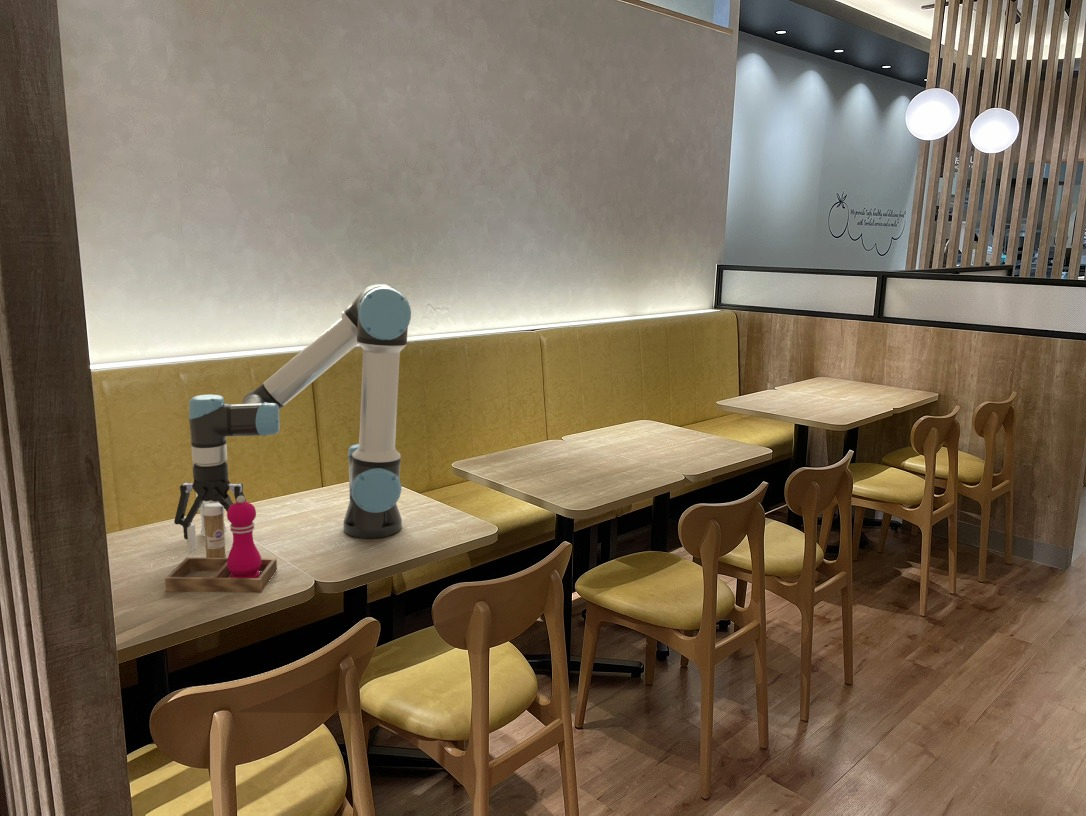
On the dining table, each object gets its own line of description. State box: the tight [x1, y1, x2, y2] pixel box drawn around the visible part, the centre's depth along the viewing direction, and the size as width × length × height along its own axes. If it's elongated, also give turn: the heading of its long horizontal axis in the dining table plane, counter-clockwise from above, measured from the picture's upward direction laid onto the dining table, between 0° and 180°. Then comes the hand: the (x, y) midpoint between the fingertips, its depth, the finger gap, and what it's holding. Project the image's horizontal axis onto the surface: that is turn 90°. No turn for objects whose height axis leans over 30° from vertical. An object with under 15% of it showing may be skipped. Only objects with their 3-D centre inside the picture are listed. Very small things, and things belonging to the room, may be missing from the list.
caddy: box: [164, 556, 278, 594], centre depth 181 cm, size 20×12×3 cm, turn 91°
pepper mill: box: [226, 495, 262, 578], centre depth 179 cm, size 7×7×20 cm
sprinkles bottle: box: [203, 503, 227, 558], centre depth 191 cm, size 5×5×14 cm
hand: (215, 552), depth 192 cm, fingers open, 10 cm apart
